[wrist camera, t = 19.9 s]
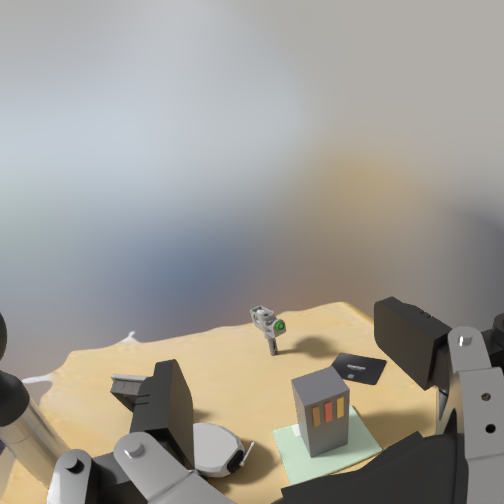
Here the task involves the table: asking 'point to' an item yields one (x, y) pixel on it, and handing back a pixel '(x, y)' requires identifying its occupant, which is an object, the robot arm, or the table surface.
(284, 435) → the board
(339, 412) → the plug block
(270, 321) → the mechanical component
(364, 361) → the solid state drive
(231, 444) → the robot toy
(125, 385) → the electrical switch
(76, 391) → the table surface
